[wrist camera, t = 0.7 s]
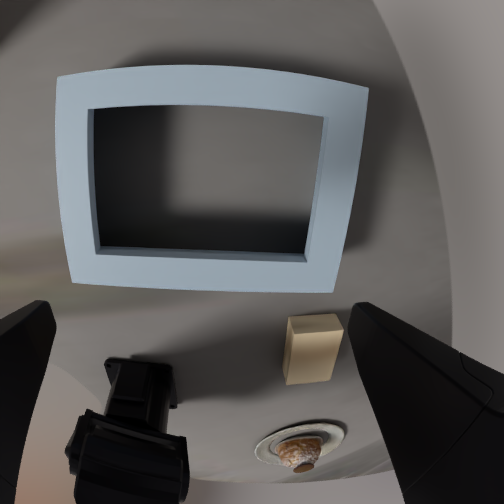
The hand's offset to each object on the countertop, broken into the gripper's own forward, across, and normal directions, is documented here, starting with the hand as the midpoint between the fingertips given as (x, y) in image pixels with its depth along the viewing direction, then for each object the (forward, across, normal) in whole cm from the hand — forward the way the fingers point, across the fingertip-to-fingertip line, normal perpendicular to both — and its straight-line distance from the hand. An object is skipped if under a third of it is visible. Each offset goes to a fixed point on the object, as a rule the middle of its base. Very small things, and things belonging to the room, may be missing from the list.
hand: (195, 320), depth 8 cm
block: (+13, -8, +12) cm, 20 cm away
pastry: (+14, -11, +32) cm, 36 cm away
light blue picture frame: (+12, 0, -2) cm, 13 cm away
